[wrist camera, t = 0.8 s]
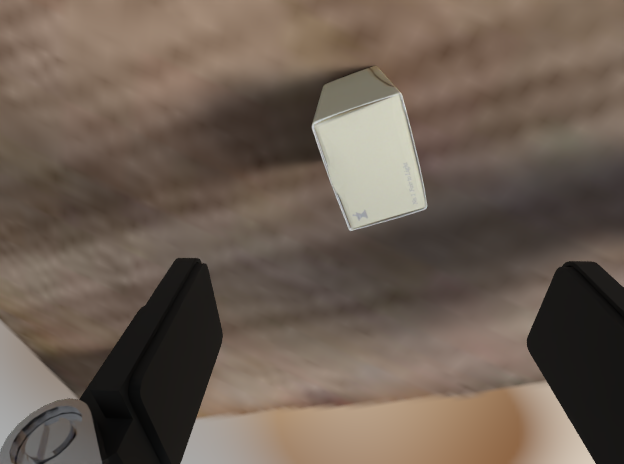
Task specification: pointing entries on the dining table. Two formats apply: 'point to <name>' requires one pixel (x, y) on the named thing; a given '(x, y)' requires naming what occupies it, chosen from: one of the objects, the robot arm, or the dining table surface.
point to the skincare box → (368, 149)
